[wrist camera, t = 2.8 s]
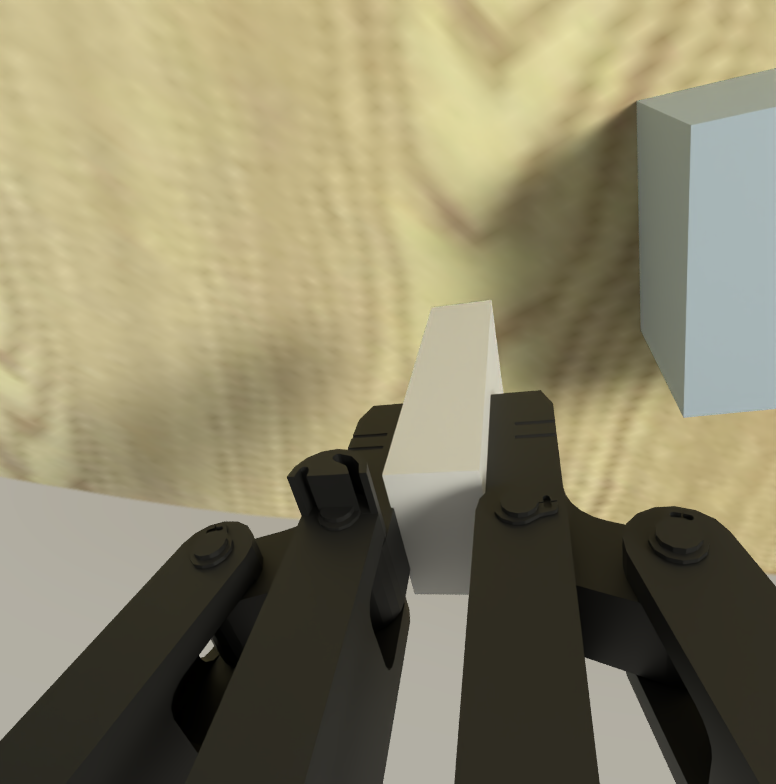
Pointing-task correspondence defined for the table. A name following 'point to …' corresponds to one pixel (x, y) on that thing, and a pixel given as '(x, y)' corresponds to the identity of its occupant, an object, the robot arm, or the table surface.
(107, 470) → the table surface
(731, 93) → the block
